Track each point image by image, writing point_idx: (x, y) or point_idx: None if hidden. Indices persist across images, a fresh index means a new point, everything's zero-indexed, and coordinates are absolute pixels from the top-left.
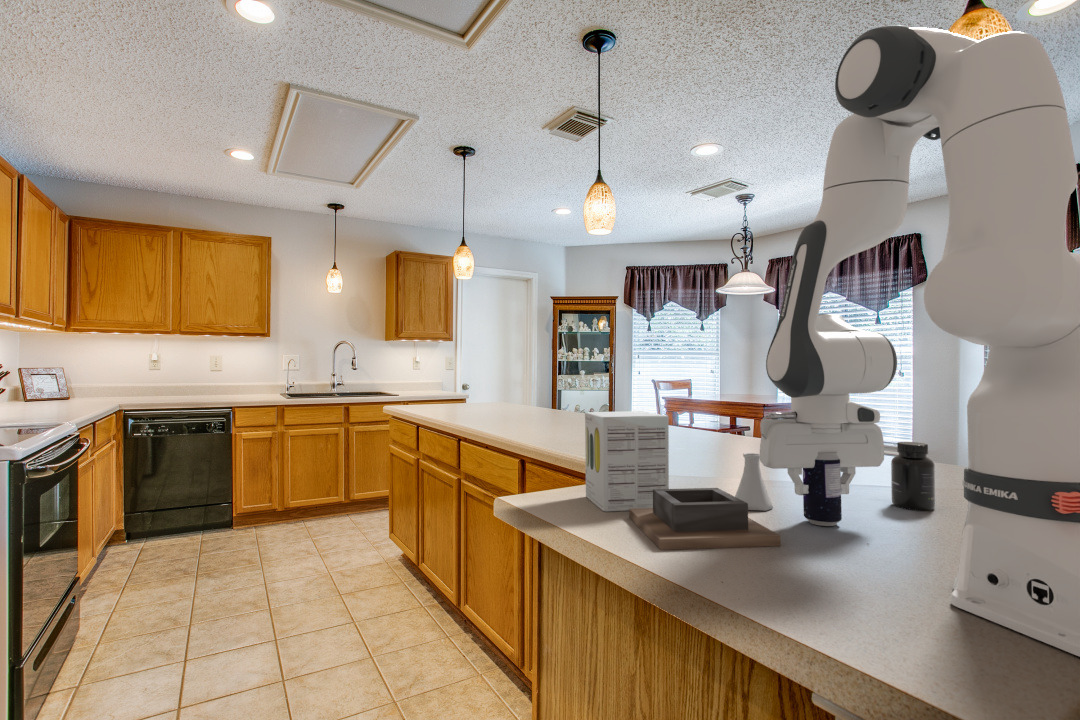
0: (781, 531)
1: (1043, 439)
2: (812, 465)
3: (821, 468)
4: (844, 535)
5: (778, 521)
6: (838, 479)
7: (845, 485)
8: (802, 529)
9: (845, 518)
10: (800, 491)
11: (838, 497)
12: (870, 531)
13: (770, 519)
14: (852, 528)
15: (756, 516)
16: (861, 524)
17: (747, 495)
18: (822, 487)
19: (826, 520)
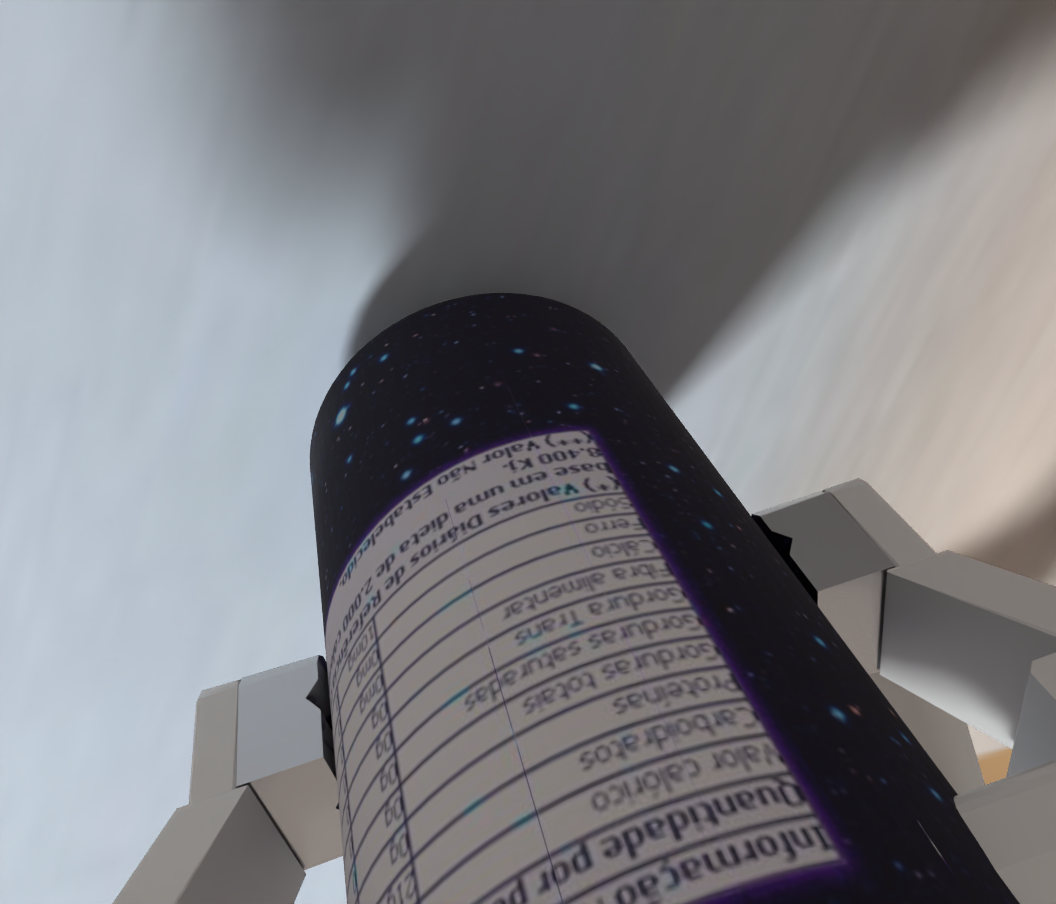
0: (967, 72)
1: None
2: (1010, 821)
3: (846, 773)
4: (397, 5)
5: (820, 410)
6: (432, 699)
7: (249, 762)
8: (740, 183)
9: (204, 637)
10: (879, 500)
11: (400, 491)
12: (48, 235)
13: (852, 454)
14: (225, 318)
15: (911, 511)
16: (93, 483)
17: (943, 745)
18: (680, 513)
19: (512, 297)
